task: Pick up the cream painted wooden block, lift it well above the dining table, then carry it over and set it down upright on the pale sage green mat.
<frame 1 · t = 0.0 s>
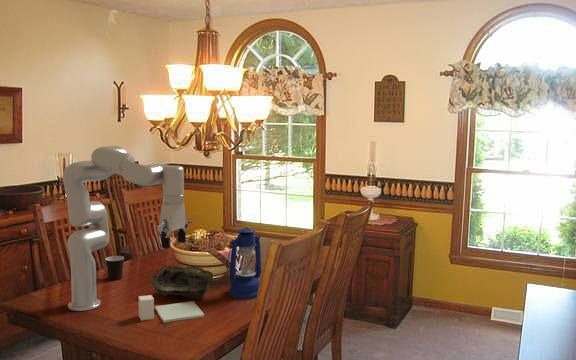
hand: (173, 245, 196), 31 cm above the table, tool pointing down, fingers open, 9 cm apart
coffee mug: (116, 278, 256), on the table
cream block: (146, 317, 207), on the table
lantern: (245, 293, 238), on the table
hollow geode rock: (183, 298, 231), on the table
sage mat: (179, 312, 213), on the table
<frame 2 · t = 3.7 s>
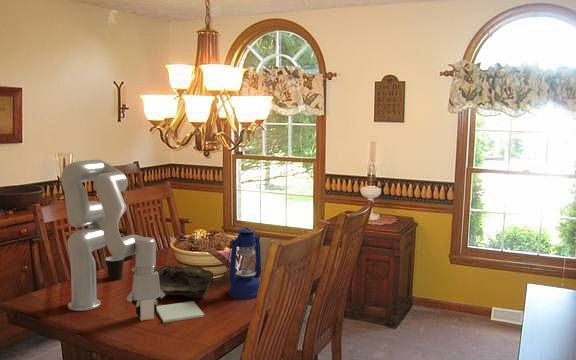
hand: (146, 314, 207), 1 cm above the table, tool pointing down, fingers closed on cream block, 5 cm apart
cream block: (146, 317, 207), on the table, touching gripper
everything else where it was.
when the fingers open (4 cm above the table, at t = 11.2 s): cream block drops 2 cm, resting on sage mat.
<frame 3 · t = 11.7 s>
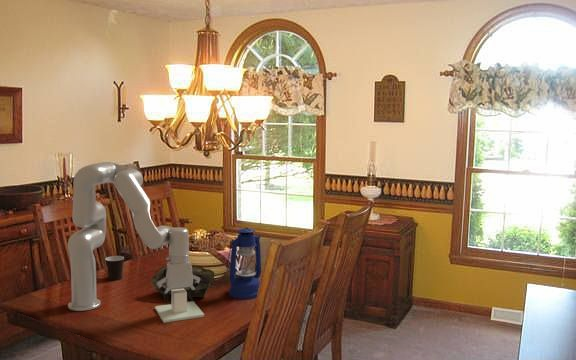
hand: (179, 300, 212), 5 cm above the table, tool pointing down, fingers open, 9 cm apart
cream block: (179, 310, 213), point 1 cm above the table, touching sage mat
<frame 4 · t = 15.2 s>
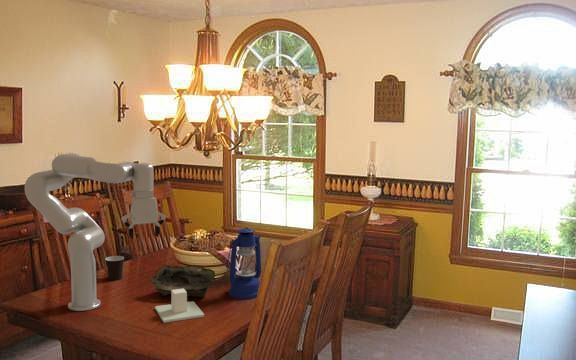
hand: (144, 237, 211), 30 cm above the table, tool pointing down, fingers open, 9 cm apart
at the end: cream block inside the target area on the sage mat (0.1 cm from its centre), point 1.0 cm above the sage mat's base; cream block tilted 0°; the gripper is holding nothing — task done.
